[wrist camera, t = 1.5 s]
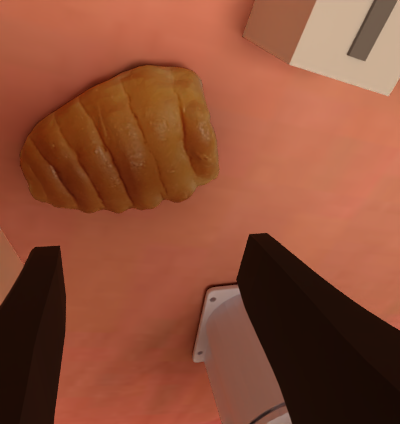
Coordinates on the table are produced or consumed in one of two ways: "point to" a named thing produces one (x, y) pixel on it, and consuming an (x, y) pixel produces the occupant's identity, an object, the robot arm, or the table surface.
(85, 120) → the pastry
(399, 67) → the marked block grey
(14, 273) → the marked block cream
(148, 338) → the table surface
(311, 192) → the table surface
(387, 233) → the table surface
